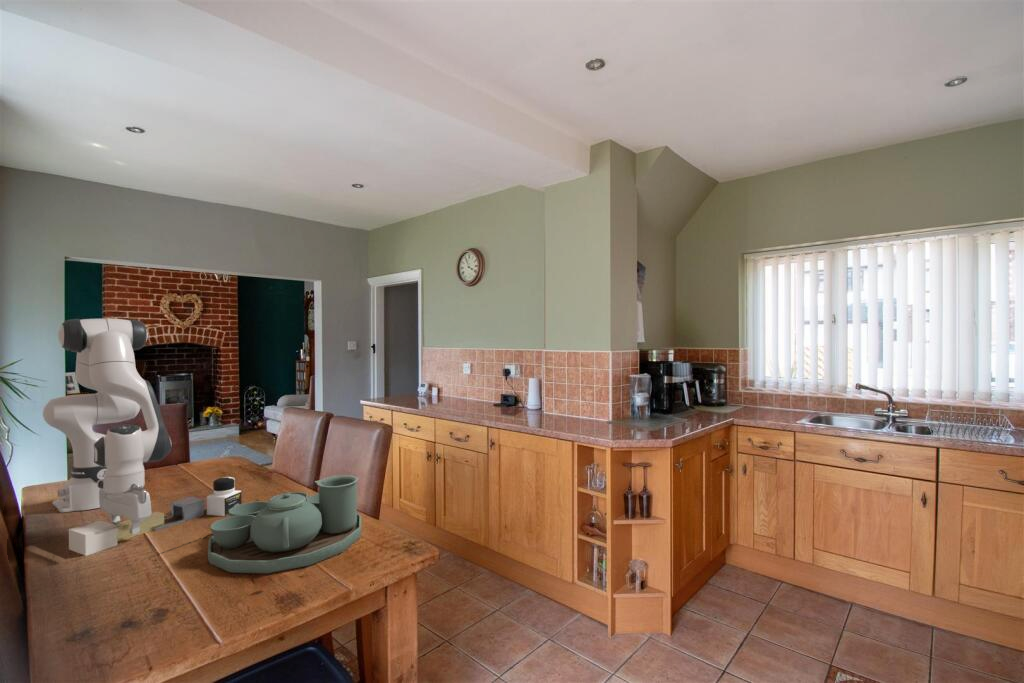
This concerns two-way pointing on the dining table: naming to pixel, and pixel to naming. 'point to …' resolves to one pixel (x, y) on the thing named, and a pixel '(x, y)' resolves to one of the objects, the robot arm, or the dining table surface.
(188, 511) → the sleeve
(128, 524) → the olive rectangular bar
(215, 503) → the medicine bottle
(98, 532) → the socket
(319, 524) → the tea set
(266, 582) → the dining table surface
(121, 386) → the robot arm
